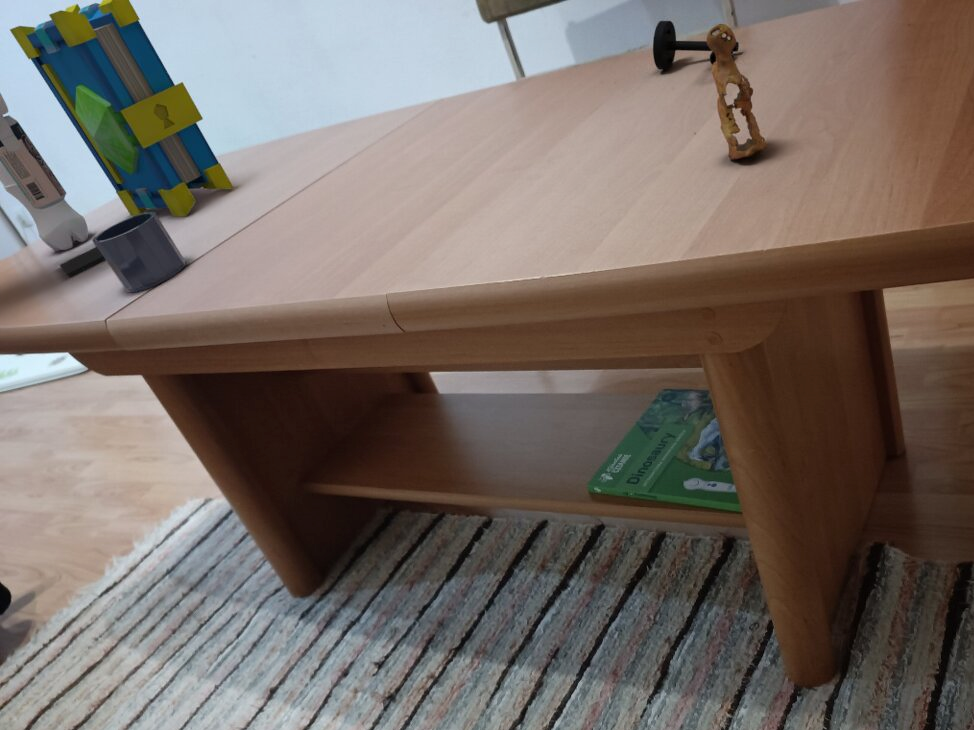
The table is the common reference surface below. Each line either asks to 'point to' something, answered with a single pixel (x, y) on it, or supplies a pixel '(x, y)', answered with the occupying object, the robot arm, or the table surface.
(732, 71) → the figurine
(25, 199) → the water bottle
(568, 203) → the table surface
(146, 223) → the cup
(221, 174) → the decorative book
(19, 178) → the supplement bottle
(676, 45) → the light fixture
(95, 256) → the mat
